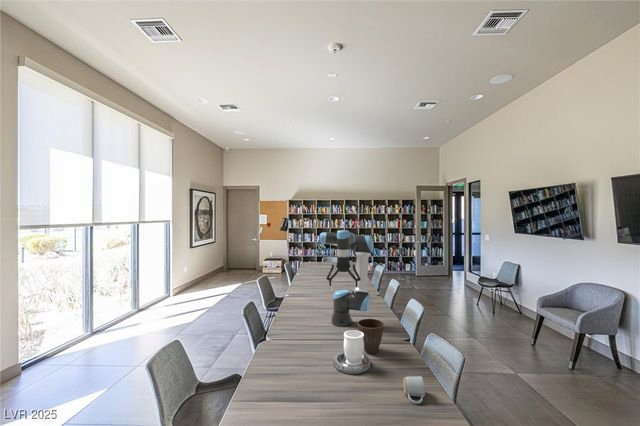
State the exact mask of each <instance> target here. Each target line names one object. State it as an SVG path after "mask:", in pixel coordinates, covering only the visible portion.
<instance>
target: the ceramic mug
mask: <svg viewBox="0 0 640 426" xmlns="http://www.w3.org/2000/svg"><path fill="white" fill-rule="evenodd" d="M402 379H403V380H402V384H403V389H404V390H403V392H404V394H405V396H407V397H408V400H409V401H410V402H411V403H413V404H414V405H419V404H421V403H422V402H423V398H424V397H425V396H426V395H425V394H426V393H425V390H426V389H425V382H424V378H423V377H422V376H421V375H420V376H404V377H403V378H402ZM412 397H418V398H420V399H419V400H414V399H412Z"/></svg>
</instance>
